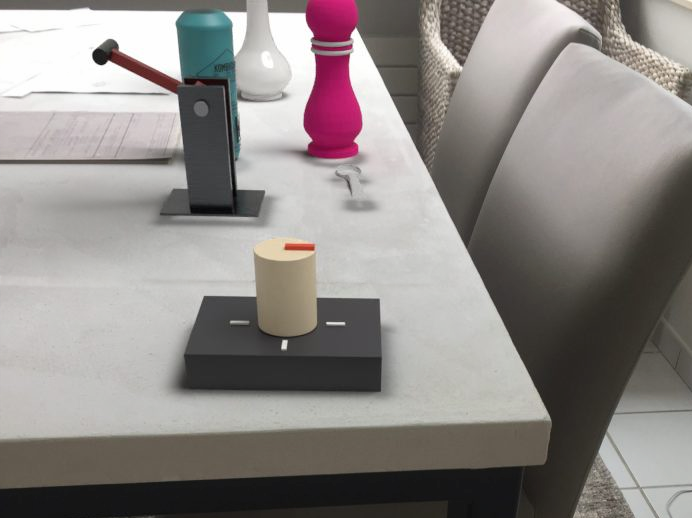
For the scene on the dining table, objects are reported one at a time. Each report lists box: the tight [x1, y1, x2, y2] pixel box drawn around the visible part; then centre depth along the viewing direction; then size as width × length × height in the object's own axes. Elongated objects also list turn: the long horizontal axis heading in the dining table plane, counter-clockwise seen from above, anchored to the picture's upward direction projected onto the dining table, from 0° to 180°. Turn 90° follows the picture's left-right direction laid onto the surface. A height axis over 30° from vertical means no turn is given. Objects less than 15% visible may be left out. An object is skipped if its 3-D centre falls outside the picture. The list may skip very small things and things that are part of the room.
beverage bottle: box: [174, 7, 242, 159], centre depth 101 cm, size 6×7×20 cm
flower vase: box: [234, 0, 293, 102], centre depth 129 cm, size 13×18×25 cm
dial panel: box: [183, 295, 383, 393], centre depth 68 cm, size 14×10×3 cm
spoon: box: [335, 163, 367, 199], centre depth 101 cm, size 3×12×2 cm, turn 9°
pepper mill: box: [302, 0, 364, 160], centre depth 105 cm, size 7×7×20 cm
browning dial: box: [253, 237, 318, 337], centre depth 65 cm, size 4×4×6 cm
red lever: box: [91, 38, 205, 96], centre depth 87 cm, size 12×5×2 cm, turn 91°
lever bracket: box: [159, 76, 266, 218], centre depth 91 cm, size 10×8×13 cm
